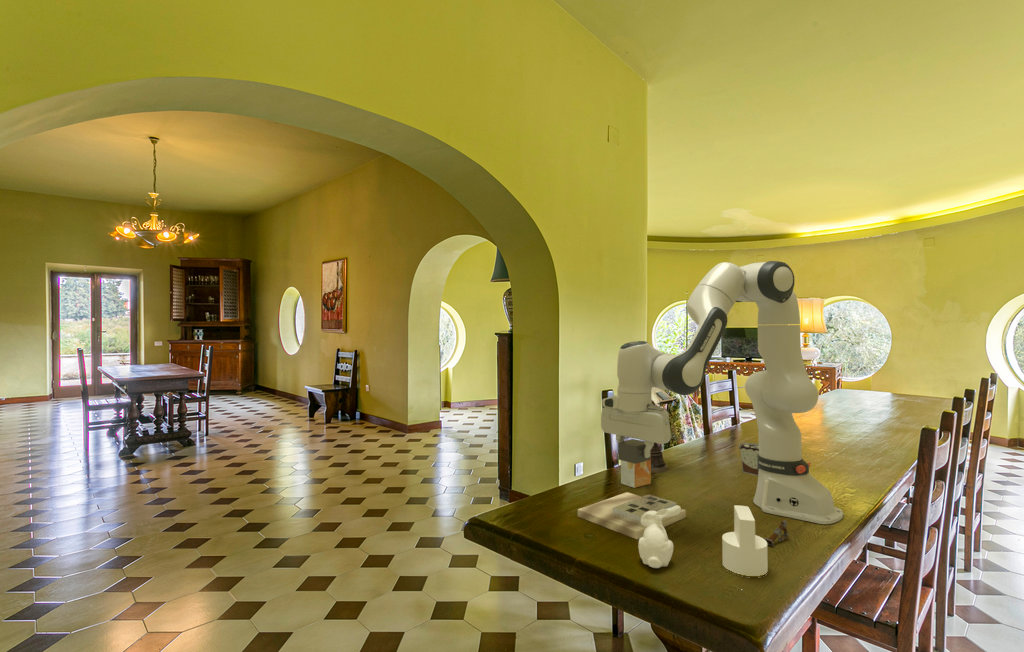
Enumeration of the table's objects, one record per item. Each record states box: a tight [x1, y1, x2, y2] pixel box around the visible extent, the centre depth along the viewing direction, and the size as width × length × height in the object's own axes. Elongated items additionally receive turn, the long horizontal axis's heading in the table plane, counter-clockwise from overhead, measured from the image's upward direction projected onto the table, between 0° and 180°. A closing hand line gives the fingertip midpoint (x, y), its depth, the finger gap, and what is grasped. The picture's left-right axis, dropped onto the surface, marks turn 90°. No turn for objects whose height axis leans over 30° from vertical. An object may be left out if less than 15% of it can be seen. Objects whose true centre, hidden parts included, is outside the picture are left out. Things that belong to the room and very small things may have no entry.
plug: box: [617, 438, 651, 469], centre depth 134 cm, size 6×9×6 cm, turn 130°
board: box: [577, 491, 687, 540], centre depth 139 cm, size 20×22×2 cm
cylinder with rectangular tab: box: [721, 505, 769, 576], centre depth 110 cm, size 9×9×12 cm
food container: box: [738, 442, 759, 477], centre depth 178 cm, size 12×6×10 cm, turn 34°
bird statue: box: [651, 387, 678, 474], centre depth 185 cm, size 17×13×35 cm
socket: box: [613, 494, 677, 527], centre depth 136 cm, size 9×16×2 cm, turn 130°
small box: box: [620, 460, 652, 489], centre depth 168 cm, size 8×6×13 cm
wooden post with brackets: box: [764, 520, 790, 548], centre depth 123 cm, size 2×8×5 cm, turn 122°
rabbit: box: [637, 504, 682, 569], centre depth 113 cm, size 12×9×12 cm
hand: (634, 454), depth 133 cm, fingers closed on plug, 6 cm apart
